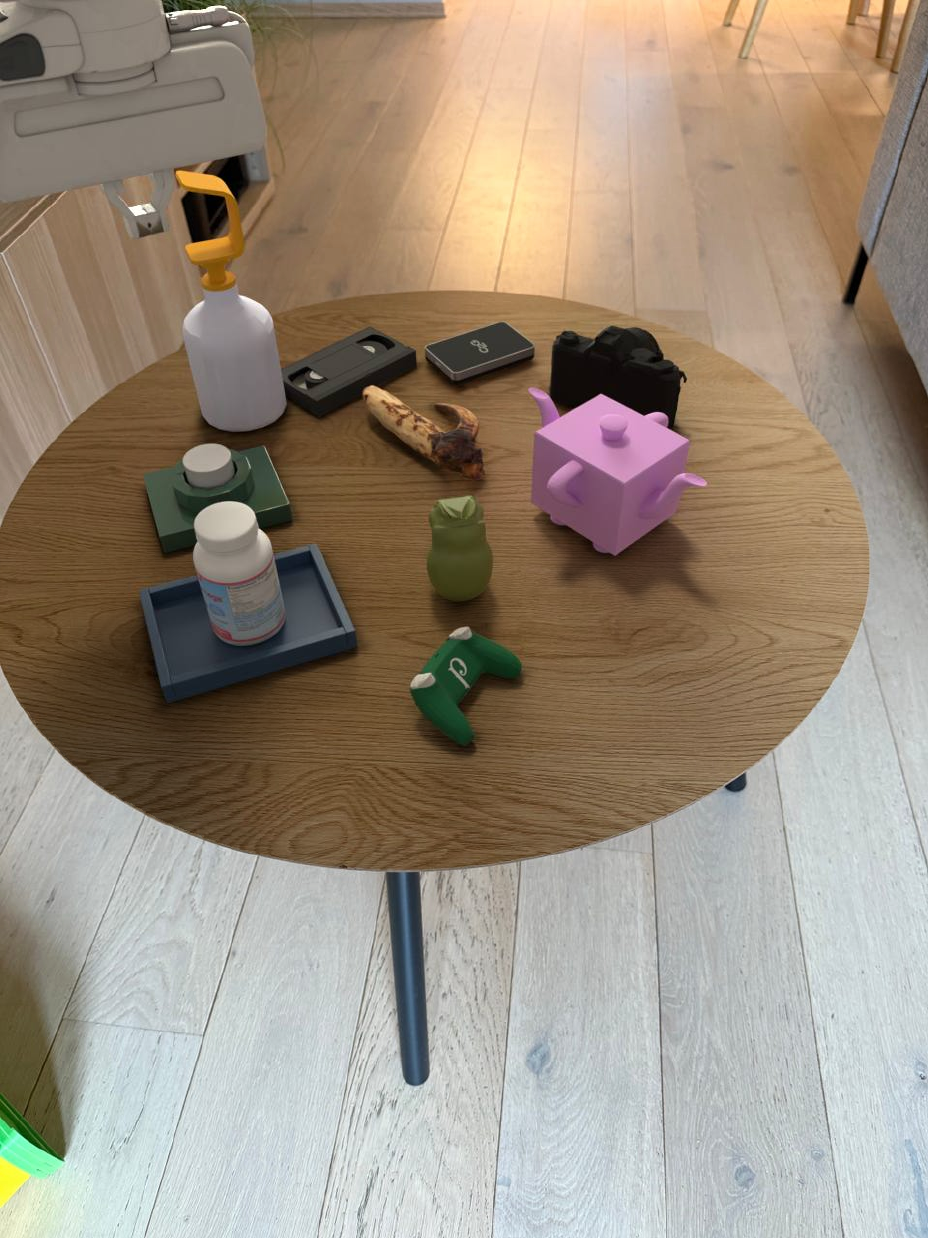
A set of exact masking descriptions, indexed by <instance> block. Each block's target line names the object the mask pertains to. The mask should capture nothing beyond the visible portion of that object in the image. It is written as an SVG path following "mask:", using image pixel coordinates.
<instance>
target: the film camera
mask: <svg viewBox="0 0 928 1238" xmlns="http://www.w3.org/2000/svg"><path fill="white" fill-rule="evenodd" d="M664 355H665V354H664V352H663V351H662V349H660V345H659V343H658V341H657V339H656V338H655V336H654V335H653V334H652V333H651V332H649V331H648V330H647V329H644V328H641V327H637V326H634V327H633V326H632V327H626V328H623V327H620V326H616V325H609V326H607V327H605V328H604V329H602V330H601V332H599V333H598V334H597V335H596V336H595V337H594V338H591V337H587V336H583V335H580V334H578V333H577V332H576V331H573V330H563V331H562V332H561V333H560V334H558V335H556V336H555V340H554V341H553V343H552V346H551V361H550V365H551V366H550V378H549V379H550V380H549V388H548V389H549V397H550V398H551V400H552V401H553V403H556V404H559V405H561V406H564V407H567V408H570V409H571V410H574V409H575V408H577V407H579V406H581V405H582V404H584V403H586V402H588V401H590V400H591V399H593V398H595V397H596V396H598V395H600V394H602V395H604V396H606V397H608V398H610V399H612V400H614V401H616V402H618V403H620V404H622V405H624V406H626V407H628V408H630V409H632V410H633V411H635V412H637V413H639V414H641V415H643V416H646V415H648V414H651V413H654V412H660V413H664V414H665V415H666V416H667V417H668V426H667V428H668V429H669V430H671V431H672V429H673V428H674V427H675V421H676V416H677V412H678V406H679V405H678V404H679V400H680V399H679V398H680V394H681V390H682V386H681V381H682V379H683V384H686V383H687V382H688V381H687V380H688V377H687V376H686V374H685V372H684V370H680V367H679V366H678V365H676V364H675V363H674V362H673V361H672V360H671V359H664V358H665V357H664Z"/></svg>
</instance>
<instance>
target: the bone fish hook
mask: <svg viewBox="0 0 928 1238" xmlns="http://www.w3.org/2000/svg"><path fill="white" fill-rule="evenodd" d="M362 399H363V401H364V403H365V407H366V410H368V411H369V413H371V414H372V415H373V416H374V417H375V418H376V419H377V420H378V421H379V422H380V424H381V425H382V427H384V428H385V429H387V430H388V431H389V432H391V433H392V434H394V435H395V436H396V437H397V438H399V440H400V441H401V442H403V443H404V444H406V445H408V446H409V447H410V448H411V449H412V450H413V451H415V452H416V453H419V454H421V455H422V456H423V457H425V458H426V459H428V460H431V461H432V462H433V463H434V464H436V465H437V466H439V467H440V468H442V469H445V470H447V471H450V472H453V473H459V474H460V475H462V478H464V479H468V480H470V481H478V480H480V479H482V478H483V477H484V476H486V472H485V469H484V467H485V464H484V461H483V451H482V448H481V447H478V446H476V445H475V442H476V440H477V437H478V435H479V432H480V431H479V430H480V429H479V428H480V424H479V421H478V418H477V416H475V414H473V412H472V411H470V410H469V409H467V408H466V407H463V406H460V405H457V404H453V403H444V402H439V403H435V404H434V407H435V408H436V410H439V411H440V412H443V413H444V414H447V415H450V416H452V417H454V418H455V419H456V420H457V422H458V425H457V427H456V428H455V429H451V430H449V431H447V432H445V431H444V430H443V429H442V428H441V427H439V426H437V425H436V424H435V423H434V422H432V421H431V420H430V419H428V418H426V417H425V416H423V415H421V414H419V413H418V412H416V411H414V410H413V409H412V408H411V407H409V406H408V405H406V404H405V403H403V401H401V400H400V399H399V398H397V396H394V395H393V394H392V393H389V392H388V391H386V390H385V389H381V388H380V387H379V386H377V387H376V386H373V385H372V386H369V387H366V388H364V390H363V394H362Z"/></svg>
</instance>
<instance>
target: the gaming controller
mask: <svg viewBox="0 0 928 1238" xmlns="http://www.w3.org/2000/svg"><path fill="white" fill-rule="evenodd" d="M522 667H523V664H522V661H521V660H520V658H519V657H518V656H517V655H516V654H515V653H514V652H513V651H511V650H510V649H508V648H506V647H505V646H503V645H502V644H500V643H497V642H496V641H493V640H492V639H489V638H487V637H485V636H483V635H481V634H479V633H477V632H475V631H473V630H472V629H470V626H463V627H459V628H457V629H455V630H453V631H452V632H451V633H450V634H449V636H448V638H447V639H446V640H445V642H443V644H441V645H440V646H439V647H438V649H437V650H436V651H435V652H434V653H433V654H432V656H431V657H430V658H429V659H428V661H426V663H425V665H424V666H423V667H422V669H421V670H420V672H419V674H417V675H416V676H415V677H414V678H413V679H412V681H411V683H410V686H409V692H410V695H411V697H412V700H413V701H414V705H415V707H417V709H418V710H419V712H420V713H421V714H422V715H423V716H424V718H426V720H428V722H430V723H431V724H432V725H433V726H434V727H435V728H437V729H438V730H439V731H440V732H441V733H442V734H443V735H445V736H447V737H448V738H450V739H451V740H452V741H454V742H456V743H457V744H459V745H461V746H462V747H466V746H467V745H468V744H470V742H472V741H473V740H474V739H475V738H476V737H475V734H474V731H473V729H472V727H471V724H470V722H469V720H468V719H467V717H466V716H465V715H464V713H463V712H462V711H461V709H460V708H459V705H460V703H461V702H462V701H463V700H464V698H465V697H466V695H468V693H469V692H470V690H471V689H472V687H473V686H474V685H475V683H476V682H477V681H478V680H479V678H480V677H481V675H482V674H483V673H487V674H489V675H493V676H496V677H500V678H504V679H511V680H515V679H517V678H519V677H521V673H522Z"/></svg>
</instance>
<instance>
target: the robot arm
mask: <svg viewBox="0 0 928 1238" xmlns="http://www.w3.org/2000/svg"><path fill="white" fill-rule="evenodd" d="M230 20H233V21H232V22H230ZM255 57H256V55H255V48H254V42H253V36H252V31H251V28H250V26H249V24H248V22H247V21H246V19H244V18H243V17H242V16H241V15H240V14H238V13H236V12H233V11H229V9H228V8H227V7H226V6H222V5H214V6H208V7H206V9H201V10H200V9H199V10H182V11H173V12H167V13H165V11H164V6H163V1H162V0H0V202H1V203H4V204H10V203H11V204H12V203H16V202H21V201H25V200H30V199H35V198H40V197H46V196H50V195H55V194H59V193H65V192H70V191H73V190H78V189H79V190H80V189H83V188H88V187H93V186H98V189H99V190H100V191H101V193H102V194H103V195H104V197H105V198H106V199H107V200H108V201H109V202H110V204H111V205H113V207H115V209H116V210H117V211H118V212H119V213H120V214H121V215H122V219H123V224H124V227H125V230H126V233H127V235H128V236H129V237H130V239H131V240H139V239H142V238H145V237H149V236H155V235H159V234H163V233H168V232H170V231H171V227H170V222H169V218H168V214H167V209H168V207H169V204H170V201H171V198H172V196H173V191H174V189H175V187H176V186H175V185H176V181H175V175H174V171H173V170H174V169H179V168H184V167H189V166H195V165H199V164H203V163H208V162H209V163H210V162H213V161H217V160H223V159H228V158H232V157H238V156H243V155H247V154H251V153H257V152H259V151H261V150H262V149H263V146H264V144H265V142H266V139H267V137H268V127H267V122H266V121H267V120H266V116H265V112H264V108H263V107H264V106H263V104H262V100H261V96H260V93H259V88H258V86H257V82H256V79H255V76H254V73H253V68H254V65H255V59H256V58H255ZM145 175H147V177H148V178H149V179H150V180H151V182H153V188H152V191H151V196H150V199H149V202H148V203H144V204H139V205H136V206H135V205H134V206H130V207H129V205H128V204H127V203H126V202H125V201H124V200H123V199H122V198H121V197H120V196H123V195H125V193H126V190H125V186H124V182H123V180H126V179H132V178H136V177H141V176H145Z"/></svg>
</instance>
